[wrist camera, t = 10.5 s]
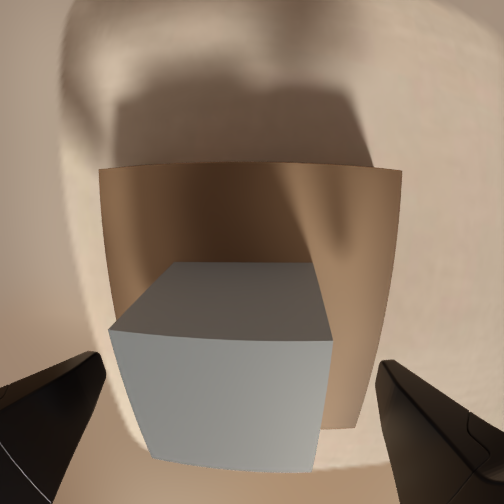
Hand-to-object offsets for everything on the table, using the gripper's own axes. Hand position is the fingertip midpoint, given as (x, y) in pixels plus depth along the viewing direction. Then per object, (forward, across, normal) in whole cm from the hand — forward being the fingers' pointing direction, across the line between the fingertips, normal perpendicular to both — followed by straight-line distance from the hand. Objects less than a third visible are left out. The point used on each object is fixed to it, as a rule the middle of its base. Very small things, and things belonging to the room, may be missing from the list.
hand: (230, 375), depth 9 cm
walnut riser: (+7, 0, 0) cm, 7 cm away
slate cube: (+3, 0, 0) cm, 3 cm away
